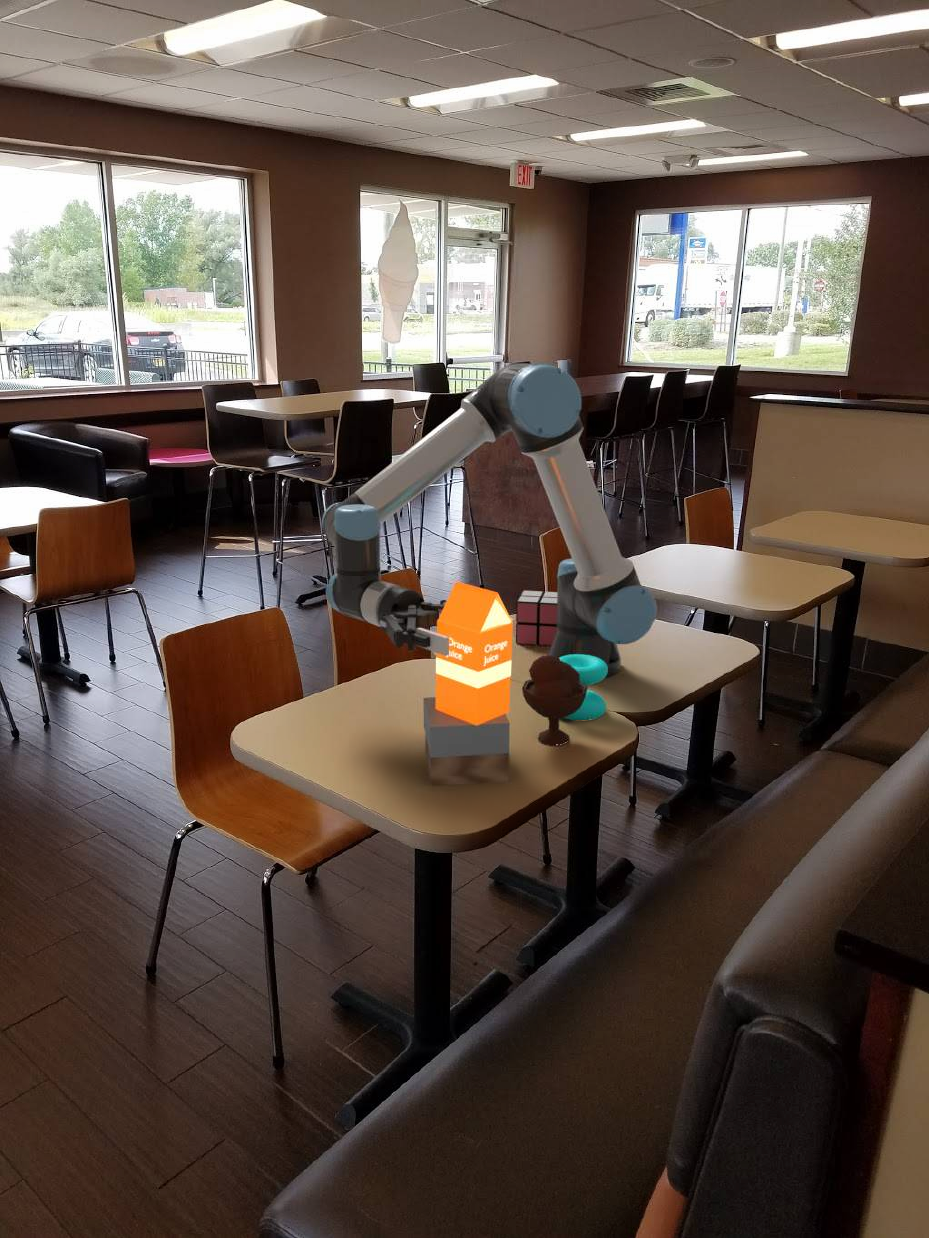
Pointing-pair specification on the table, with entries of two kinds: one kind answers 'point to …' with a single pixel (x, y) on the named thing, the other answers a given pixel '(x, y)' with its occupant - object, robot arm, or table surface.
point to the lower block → (467, 768)
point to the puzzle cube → (536, 618)
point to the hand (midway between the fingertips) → (481, 637)
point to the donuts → (590, 674)
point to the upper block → (463, 734)
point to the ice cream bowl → (554, 694)
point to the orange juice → (474, 655)
